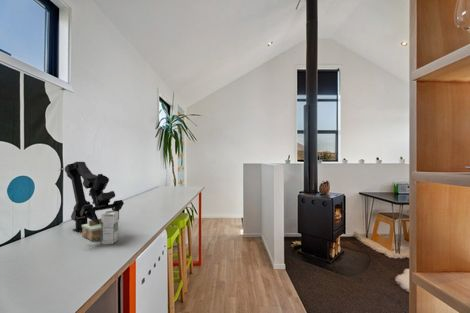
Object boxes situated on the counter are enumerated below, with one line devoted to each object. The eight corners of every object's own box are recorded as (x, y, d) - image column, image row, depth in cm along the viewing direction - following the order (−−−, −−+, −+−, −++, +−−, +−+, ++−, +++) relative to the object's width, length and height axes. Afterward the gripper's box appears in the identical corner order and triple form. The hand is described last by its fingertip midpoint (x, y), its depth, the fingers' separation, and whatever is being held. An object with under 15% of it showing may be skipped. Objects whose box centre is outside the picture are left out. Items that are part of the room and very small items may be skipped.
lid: (81, 226, 122) (81, 220, 122) (100, 222, 130) (100, 216, 130) (92, 231, 115) (91, 224, 115) (111, 226, 122) (111, 219, 122)
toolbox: (82, 236, 122) (82, 227, 122) (100, 232, 130) (100, 223, 130) (92, 241, 115) (92, 231, 115) (111, 236, 122) (111, 227, 122)
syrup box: (106, 240, 116) (106, 211, 116) (118, 240, 117) (118, 210, 117) (100, 244, 111) (100, 213, 111) (113, 244, 111) (113, 213, 111)
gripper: (82, 188, 110) (93, 215, 104) (121, 184, 125) (133, 207, 119) (75, 203, 115) (85, 230, 108) (114, 198, 130) (125, 221, 123)
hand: (108, 221), depth 114 cm, fingers open, 9 cm apart
